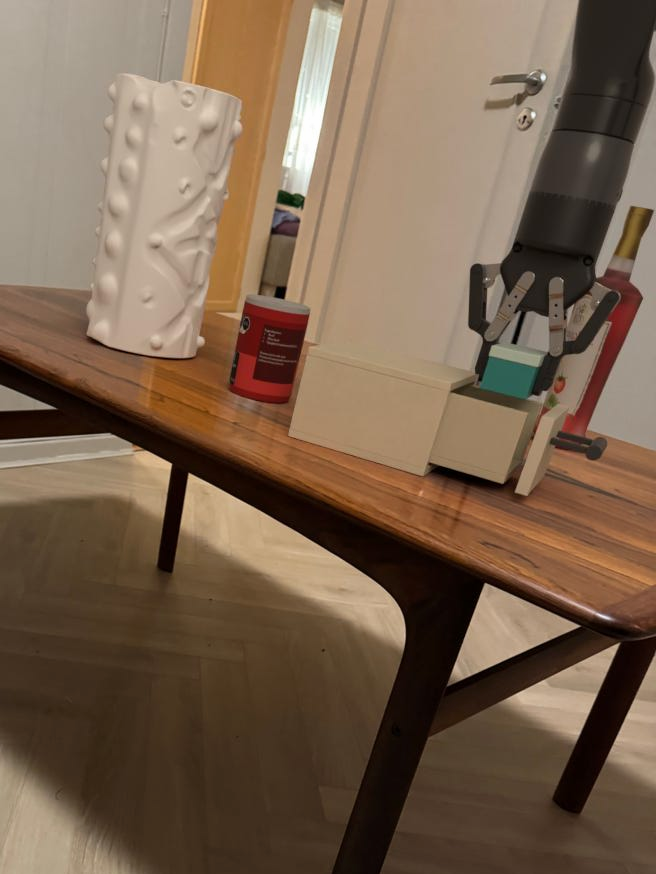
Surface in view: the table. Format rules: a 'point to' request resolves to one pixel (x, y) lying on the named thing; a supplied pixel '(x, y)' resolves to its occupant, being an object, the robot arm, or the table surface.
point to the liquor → (599, 334)
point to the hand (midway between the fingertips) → (509, 387)
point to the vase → (160, 213)
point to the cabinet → (374, 403)
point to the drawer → (503, 437)
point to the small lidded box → (512, 370)
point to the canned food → (268, 348)
